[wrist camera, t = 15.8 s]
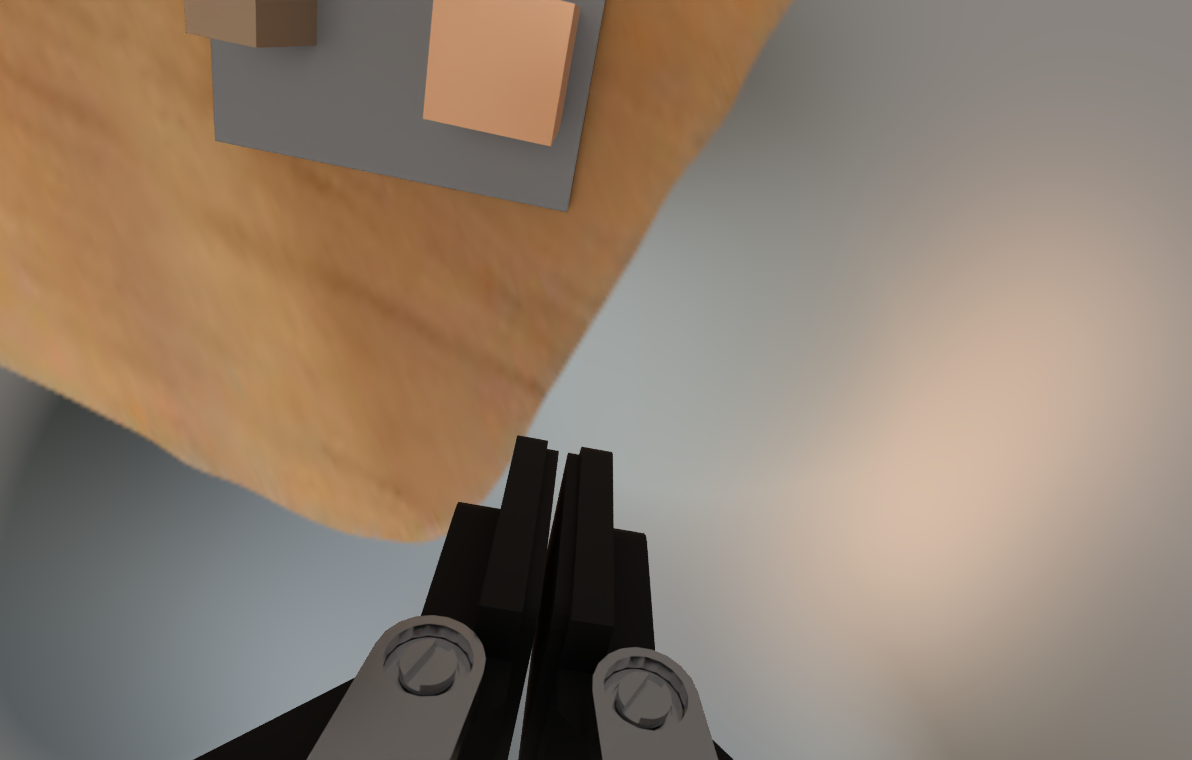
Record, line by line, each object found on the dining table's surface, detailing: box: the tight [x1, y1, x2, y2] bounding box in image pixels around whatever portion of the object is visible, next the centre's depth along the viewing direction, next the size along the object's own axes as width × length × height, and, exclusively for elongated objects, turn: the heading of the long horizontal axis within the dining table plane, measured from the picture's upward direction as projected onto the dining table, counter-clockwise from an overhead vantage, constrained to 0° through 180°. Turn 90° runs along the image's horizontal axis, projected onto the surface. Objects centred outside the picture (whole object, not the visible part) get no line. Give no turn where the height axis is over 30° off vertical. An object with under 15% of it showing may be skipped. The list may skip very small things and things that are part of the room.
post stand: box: [184, 0, 605, 212], centre depth 34 cm, size 15×20×8 cm
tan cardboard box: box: [423, 0, 581, 146], centre depth 33 cm, size 6×6×7 cm
